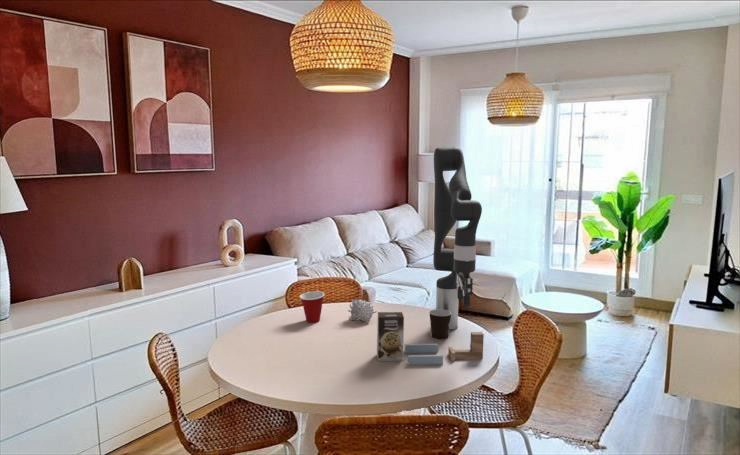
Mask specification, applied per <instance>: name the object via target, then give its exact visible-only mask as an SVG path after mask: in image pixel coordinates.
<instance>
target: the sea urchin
mask: <svg viewBox="0 0 740 455" xmlns="http://www.w3.org/2000/svg"><path fill="white" fill-rule="evenodd" d="M372 303H373V301H372V302H369V301H367V300H362V299H359V298H358V299H357V298H355V299H354V298H352V299H351V303H349V308H350V309H348V310H347V312H350V316H348V319H349V320H350V321H358V320H360V321H362V322H363V323H368V322H369V321H371V319H372V317H373V315H374V314H375V313H378V311H375V309H374V306H373V304H372Z"/></svg>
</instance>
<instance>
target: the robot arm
mask: <svg viewBox="0 0 740 455" xmlns="http://www.w3.org/2000/svg"><path fill="white" fill-rule="evenodd" d="M464 158H465V157H464V154H463V150H462V149H461V147H458V146H446V147H445V146H443V147H436V148H435V150H434V152H433V174H434V208H433V209H434V210H433V213H434V241H433V242H434V244H433V259H432V260H433V268H434V270H436V271H438V272H439V271H443V272H450V273H449V274H448V275H445V276H443V277H439V278H438V279H437V280H436V284H435V285H436V286H435V289H436V291H435V292H436V294H435V296H436V297H435V310H436V309H442V310H447V311H450V312H451V320H450V326H449V331H451V330H455V329H457V328H458V323H459V322H458V321H459V300H462V306H463V307H470V306H471V296H473V284H474V282H473V280H474V279H473V278H472V276H471V275H470V274H471V273H474V272H475V271H476V262H477V261H476V260H477V256H476V255H477V250H476V241H477V240H476V234H477V229H478V225H479V222H480V220H481V218H482V211H483V208H482V204H481V203H480V201H478V200H472V198H473V197H472V192H471V190H470V186H469V182H468V179H467V170H466V164H465V159H464ZM444 172H455V173H454V174H453V175H452V177H451V178H450V181H449V184H447V183H446V180H445V178H444ZM467 221H468V223H467V225H465V226H460V227H458V228H456V229H455V232H454V248H442V247H443V244H444V242H445V239H446V238H447V236H448V234H449V233H450V231H451V230H452V228H454V226H455V224H456V222H467Z"/></svg>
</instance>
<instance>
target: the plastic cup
mask: <svg viewBox="0 0 740 455" xmlns="http://www.w3.org/2000/svg"><path fill="white" fill-rule="evenodd" d="M324 297H325V292H323V291H318V290H317V291H315V290H314V291H307V292H304V293H301V294H300V295H299V299H300V300H301V303H302V306H303V312H304V316H305V320H306V323H311V324H315V323H318V322H320V321H321V315H322V309H323V302H324Z"/></svg>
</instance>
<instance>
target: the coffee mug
mask: <svg viewBox="0 0 740 455" xmlns="http://www.w3.org/2000/svg"><path fill="white" fill-rule="evenodd" d="M428 313H429V322H430V332H431V338H432V339H434V340H438V341H441V340H442V341H443V340H447V339H448V338H449V332H450V330H449V326H450V320H451V312H450V311H447V310H442V309H436V308H435V309H432V310H429V312H428Z"/></svg>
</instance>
